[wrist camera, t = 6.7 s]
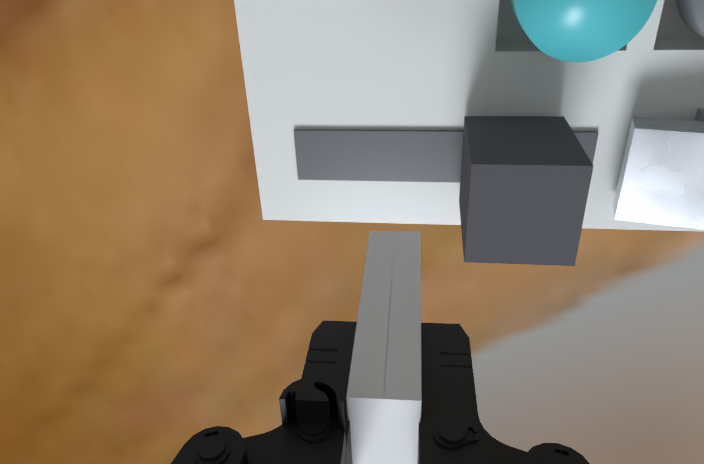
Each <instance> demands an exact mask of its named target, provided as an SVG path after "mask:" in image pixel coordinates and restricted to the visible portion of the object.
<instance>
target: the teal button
mask: <svg viewBox="0 0 704 464" xmlns="http://www.w3.org/2000/svg"><path fill="white" fill-rule="evenodd" d="M509 1H510V5H511V9H512V11H513V14H514V16H515V18H516V19H517V21H518V23H519V24H520V26H521V27H522V29H523V30H524V31H525V33H526V34H527V36H528V37H529V39H530V40H531V41H532V43H533V44H534V45H535V46H536V47H537V48H538V49H539V50H541V51H542V52H544V53H545V54H547V55H549V56H551V57H553V58H555V59H558V60H561V61H567V62H588V61H593V60H597V59H600V58H603V57H605V56H608V55H610V54H612V53H614V52H616V51H617V50H619V49H621V48H622V47H623V46H625V45H626V44H627V43H629V42H630V41H631V40H632V39H633V38H634V37H635V36H636V35H637V34H638V33H639V32H640V30H641V29H642V28H643V27H644V25H645V24H646V22H647V21H648V19H649V18H650V16H651V14H652V12H653V10H654V7H655V5H656V3H657V0H509Z"/></svg>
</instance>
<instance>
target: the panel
mask: <svg viewBox="0 0 704 464" xmlns="http://www.w3.org/2000/svg"><path fill="white" fill-rule="evenodd" d="M234 4H235V12H236V19H237V27H238V34H239V42H240V49H241V57H242V64H243V72H244V79H245V87H246V94H247V102H248V110H249V117H250V125H251V132H252V140H253V147H254V155H255V162H256V170H257V177H258V185H259V192H260V200H261V207H262V215H263V220H296V221H333V222H371V223H408V224H445V225H461V218H460V207H459V194H460V178H461V163H462V147H463V132H464V116H563V117H565V119H566V121H567V122H568V124H569V126H570V127H571V129H572V131H573V132H574V134H575V136H576V137H577V139H578V141H579V142H580V144H581V146H582V147H583V149H584V151H585V152H586V154H587V156H588V158H589V159H590V161H591V163H592V164H593V172H592V177H591V182H590V187H589V193H588V198H587V203H586V208H585V213H584V219H583V224H582V228H595V229H633V230H670V231H704V230H700V229H691V228H683V227H674V226H666V225H657V224H649V223H640V222H631V221H623V220H615V219H614V210H613V202H614V198H615V193H616V188H617V184H618V179H619V175H620V170H621V165H622V161H623V156H624V152H625V147H626V142H627V138H628V133H629V129H630V124H631V120H632V117H646V118H661V119H676V120H691V121H704V38H703V37H701V36H699V35H697V34H695V33H694V32H693V31H691V30H690V29H689V28H688V27H687V26H686V24H685V23H684V21H683V20H682V18H681V16H680V14H679V11H678V7H677V2H676V0H657V3H656V5H655V7H654V10H653V12H652V14H651V16H650V18H649V19H648V21H647V22H646V24H645V25H644V27H643V28H642V29H641V30H640V32H639V33H638V34H637V35H636V36H635V37H634V38H633V39H632V40H631V41H630V42H629V43H627V44H626V45H625V46H623V47H622V48H621V49H619V50H617V51H616V52H614V53H612V54H610V55H608V56H605V57H603V58H600V59H597V60H593V61H588V62H567V61H561V60H558V59H555V58H553V57H551V56H549V55H547V54H545V53H544V52H542V51H541V50H539V49H538V48H537V47H536V46H535V45H534V44H533V43H532V41H531V40H530V39H529V37H528V36H527V34H526V33H525V31H524V30H523V29H522V27H521V26H520V24H519V23H518V21H517V19H516V18H515V16H514V14H513V11H512V9H511V5H510V1H509V0H234Z"/></svg>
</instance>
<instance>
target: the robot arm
mask: <svg viewBox="0 0 704 464" xmlns="http://www.w3.org/2000/svg"><path fill="white" fill-rule="evenodd" d="M279 403H280V410H281V417H282V425H281V426H279V427H277V428H276V429H274V430H272V431H269V432H266V433H263V434H259V435H255V436H250V437H246V438H242V436H241V435H240V434H239V432H237V431H235V430H233V429H231V428H229V427H220V426H216V427H212V428H207V429H204V430H202V431H200V432H199V433H197V434H195V435H193V436H192V437H191V438H190V439H189V440H188V441H187V442H186V443H185V444H184V446H183V447H182V449H181V450H180V451H179V453H178V454H177V456H176V457H175V458H174V460H173V461H172V463H171V464H589V463H588V462H587V460H586V459H585V458H584V457H583V456H582V455H581V454H579V453H578V452H576V451H575V450H573V449H572V448H570V447H567V446H564V445H561V444H557V443H543V444H540V445H537V446H534V447H532V448H531V449H530V450H529V451H528V452H525V451H522V450H519V449H516V448H513V447H510V446H508V445H505V444H503V443H501V442H499V441H498V440H496V439H495V438H493V437H492V436H490V434H488V432H487V431H486V430H485V429H484V428H483V426H482V424H481V423H480V420H479V416H478V411H477V402H476V394H475V385H474V377H473V369H472V359H471V350H470V342H469V337H468V336H467V334H466V333H465V331H464V330H463V329H462V327H461V326H460V324H442V323H421V266H420V232H407V231H370V233H369V240H368V247H367V254H366V261H365V269H364V276H363V283H362V290H361V297H360V304H359V311H358V318H357V322H346V321H322V323H321V324H320V325H319V326H318V327H317V328H316V330H315V331H314V332H313V333H312V336H311V341H310V345H309V351H308V353H307V357H306V363H305V366H304V370H303V374H302V378H301V379H300V380H298V381H295V382H293V383H291V384H290V385H289V386H288V387H287V388H285V389H284V390H283V392H282V394H281V396H280V398H279Z"/></svg>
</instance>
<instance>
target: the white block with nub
mask: <svg viewBox="0 0 704 464" xmlns="http://www.w3.org/2000/svg"><path fill="white" fill-rule="evenodd" d="M613 210H614V219H615V220H623V221H631V222H640V223H649V224H657V225H666V226H674V227H683V228H691V229H700V230H704V121H691V120H676V119H661V118H646V117H632V120H631V124H630V129H629V133H628V138H627V142H626V147H625V152H624V156H623V161H622V165H621V170H620V175H619V179H618V184H617V188H616V193H615V198H614V202H613Z"/></svg>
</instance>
